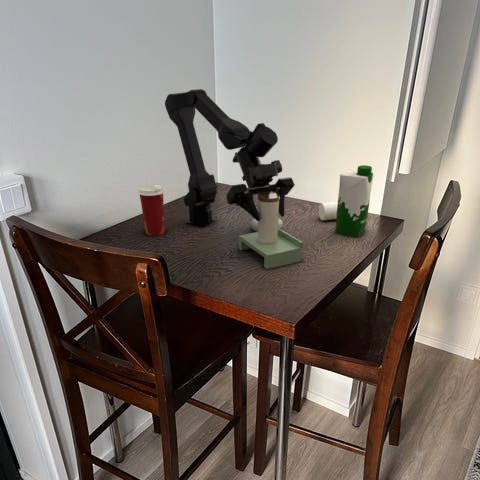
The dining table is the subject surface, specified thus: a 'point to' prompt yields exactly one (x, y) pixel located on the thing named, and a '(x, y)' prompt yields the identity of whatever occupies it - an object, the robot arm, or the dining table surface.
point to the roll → (328, 211)
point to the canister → (268, 217)
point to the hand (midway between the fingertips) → (271, 218)
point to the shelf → (274, 249)
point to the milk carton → (354, 200)
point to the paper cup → (152, 208)
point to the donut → (255, 224)
